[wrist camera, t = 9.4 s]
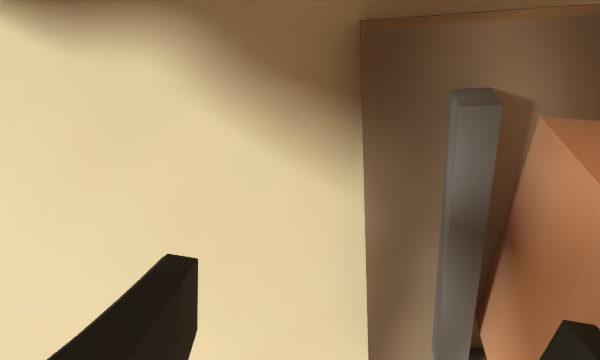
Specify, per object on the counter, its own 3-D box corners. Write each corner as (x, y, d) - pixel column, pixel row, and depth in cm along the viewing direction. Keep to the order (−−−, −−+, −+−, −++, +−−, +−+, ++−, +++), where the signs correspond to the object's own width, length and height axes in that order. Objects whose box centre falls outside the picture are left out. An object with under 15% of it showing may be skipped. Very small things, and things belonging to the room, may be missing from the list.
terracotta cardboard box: (474, 314, 19) (507, 430, 15) (539, 116, 15) (614, 201, 11) (572, 325, 19) (634, 446, 15) (670, 126, 15) (801, 217, 10)
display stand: (368, 348, 23) (369, 402, 21) (360, 21, 15) (360, 43, 13) (673, 355, 21) (716, 416, 19) (844, -14, 13) (959, 4, 11)
